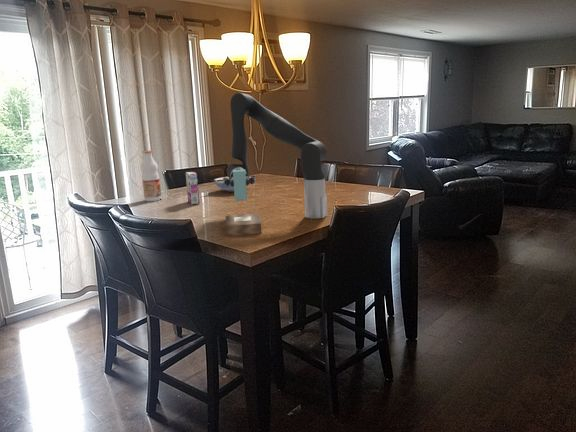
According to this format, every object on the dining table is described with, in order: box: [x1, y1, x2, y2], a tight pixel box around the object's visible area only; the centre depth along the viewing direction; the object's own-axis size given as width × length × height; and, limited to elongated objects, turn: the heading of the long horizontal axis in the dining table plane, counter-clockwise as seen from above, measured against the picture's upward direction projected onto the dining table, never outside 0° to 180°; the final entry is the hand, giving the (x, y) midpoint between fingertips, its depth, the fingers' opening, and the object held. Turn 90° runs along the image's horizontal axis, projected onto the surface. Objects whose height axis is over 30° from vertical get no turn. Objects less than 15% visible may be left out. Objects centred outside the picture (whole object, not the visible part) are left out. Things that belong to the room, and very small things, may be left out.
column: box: [233, 169, 248, 202], centre depth 181 cm, size 5×5×12 cm
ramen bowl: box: [209, 176, 252, 193], centre depth 271 cm, size 25×23×8 cm
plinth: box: [225, 212, 262, 237], centre depth 185 cm, size 14×18×4 cm
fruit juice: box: [140, 150, 163, 202], centre depth 252 cm, size 9×9×28 cm
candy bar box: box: [185, 171, 200, 206], centre depth 240 cm, size 11×5×16 cm, turn 21°
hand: (240, 183), depth 179 cm, fingers closed on column, 5 cm apart
